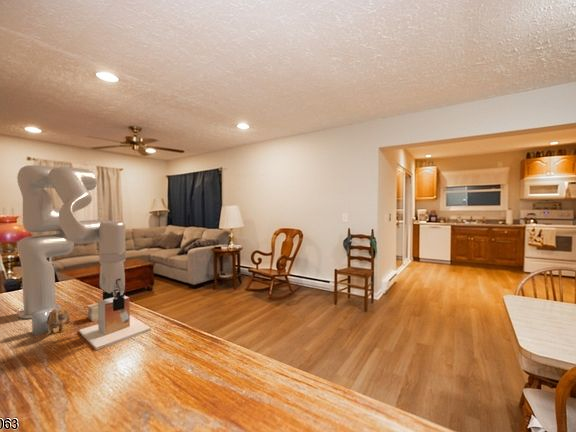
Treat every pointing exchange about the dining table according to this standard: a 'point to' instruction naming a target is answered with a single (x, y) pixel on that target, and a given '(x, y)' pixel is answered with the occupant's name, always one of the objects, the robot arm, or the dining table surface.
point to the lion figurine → (57, 319)
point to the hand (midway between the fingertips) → (113, 305)
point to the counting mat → (113, 334)
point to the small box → (113, 316)
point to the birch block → (93, 312)
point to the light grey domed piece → (40, 322)
